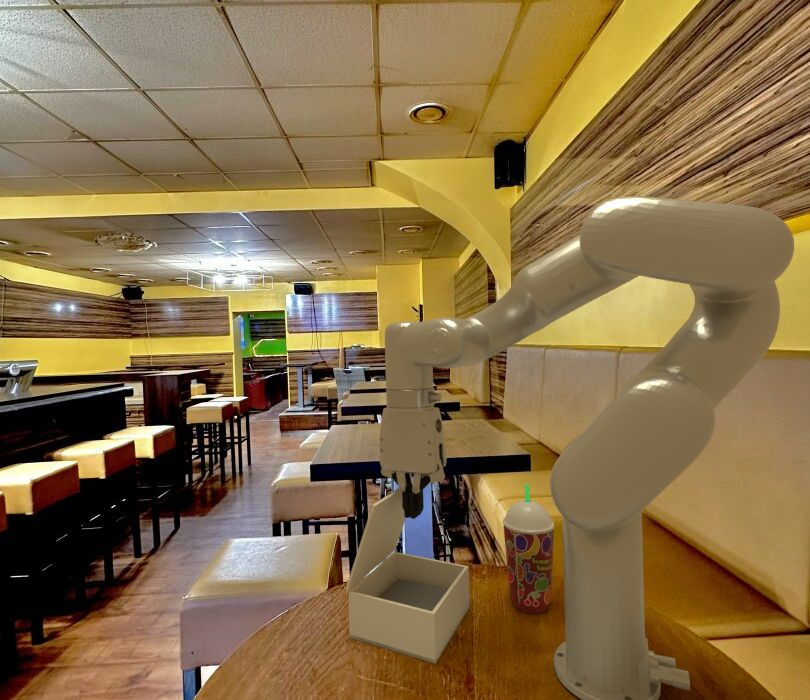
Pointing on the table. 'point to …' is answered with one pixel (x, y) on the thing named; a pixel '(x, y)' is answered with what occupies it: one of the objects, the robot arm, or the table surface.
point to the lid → (378, 536)
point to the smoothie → (529, 554)
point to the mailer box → (410, 605)
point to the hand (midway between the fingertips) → (413, 515)
